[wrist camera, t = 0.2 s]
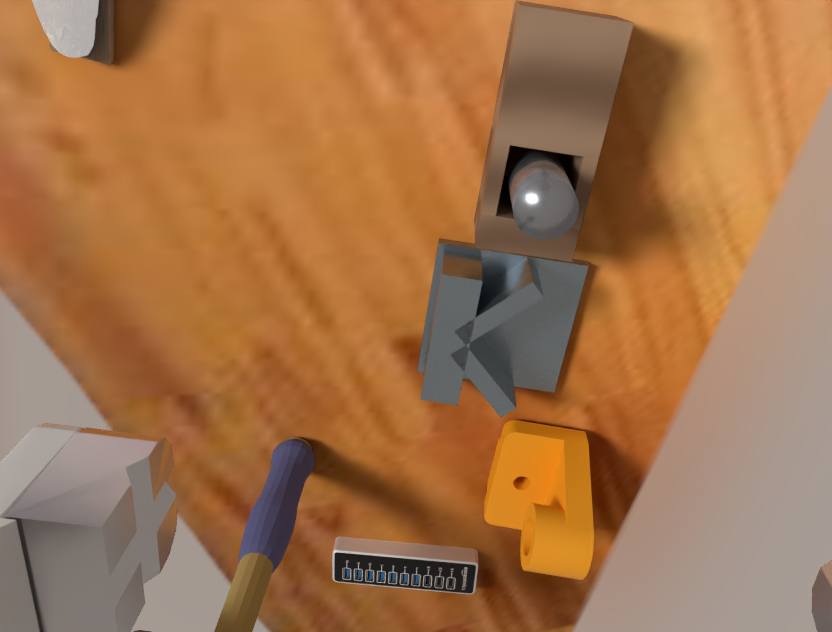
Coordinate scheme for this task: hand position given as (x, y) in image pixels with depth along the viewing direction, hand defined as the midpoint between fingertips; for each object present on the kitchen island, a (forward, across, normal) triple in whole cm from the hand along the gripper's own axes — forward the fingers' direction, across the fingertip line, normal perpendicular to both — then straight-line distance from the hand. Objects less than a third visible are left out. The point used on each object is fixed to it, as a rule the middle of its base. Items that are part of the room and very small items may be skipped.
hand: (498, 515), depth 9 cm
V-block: (+47, -5, +20) cm, 51 cm away
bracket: (+48, -10, +35) cm, 60 cm away
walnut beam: (+47, -6, +4) cm, 48 cm away
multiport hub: (+48, +1, +49) cm, 68 cm away
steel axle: (+47, -5, +7) cm, 48 cm away
